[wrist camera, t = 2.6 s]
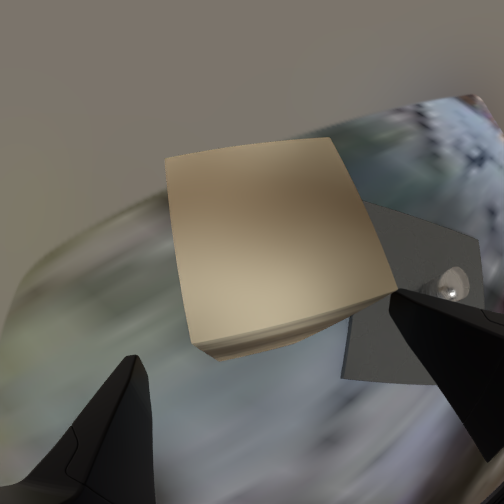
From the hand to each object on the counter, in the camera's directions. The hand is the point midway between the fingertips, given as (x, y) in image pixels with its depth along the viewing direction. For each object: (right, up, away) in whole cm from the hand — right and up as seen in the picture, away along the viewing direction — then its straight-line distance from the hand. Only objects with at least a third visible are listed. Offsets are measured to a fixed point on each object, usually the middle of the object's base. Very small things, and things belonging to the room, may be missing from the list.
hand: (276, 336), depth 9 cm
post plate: (+13, -1, +11) cm, 17 cm away
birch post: (-1, -2, +10) cm, 10 cm away
